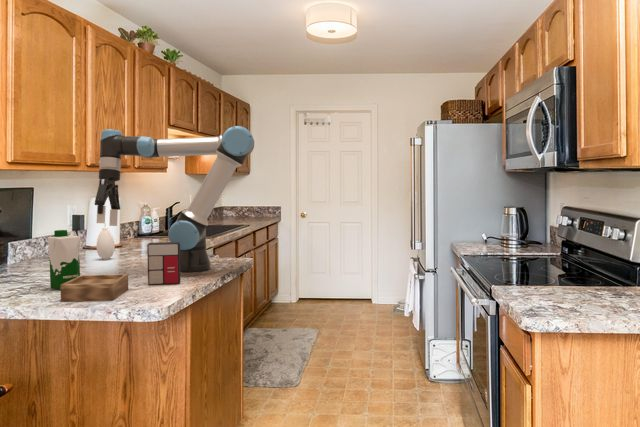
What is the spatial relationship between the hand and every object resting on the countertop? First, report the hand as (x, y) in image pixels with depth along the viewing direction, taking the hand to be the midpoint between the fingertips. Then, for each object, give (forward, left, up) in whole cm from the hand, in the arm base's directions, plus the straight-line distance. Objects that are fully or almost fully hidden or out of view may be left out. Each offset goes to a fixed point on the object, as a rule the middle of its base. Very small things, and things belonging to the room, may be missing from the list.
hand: (107, 224), depth 177 cm
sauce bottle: (+17, -48, -21) cm, 55 cm away
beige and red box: (-24, +12, -21) cm, 34 cm away
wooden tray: (-6, +28, -21) cm, 35 cm away
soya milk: (+9, +15, -21) cm, 27 cm away
